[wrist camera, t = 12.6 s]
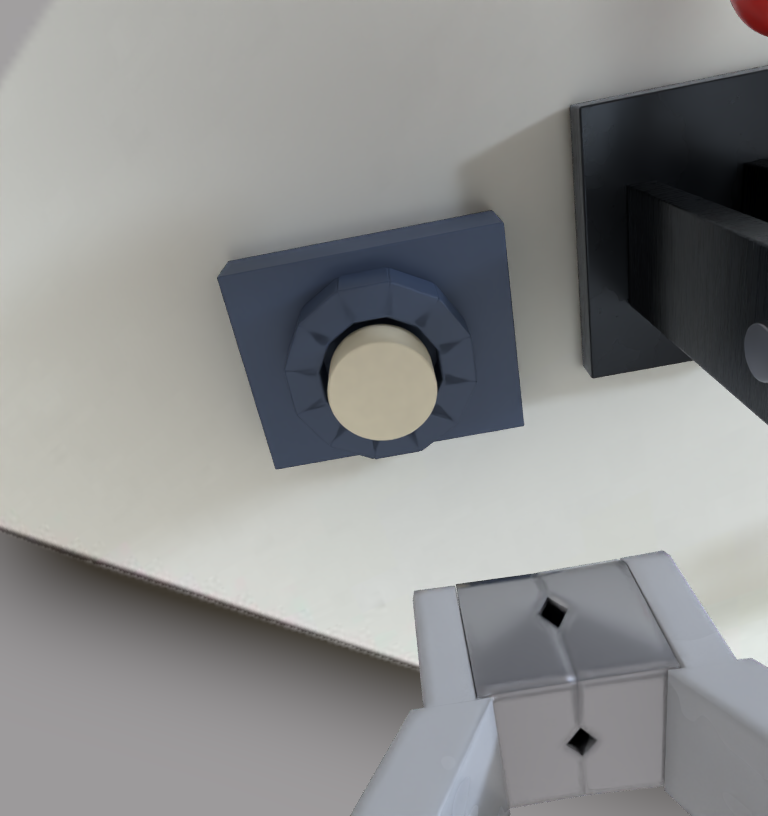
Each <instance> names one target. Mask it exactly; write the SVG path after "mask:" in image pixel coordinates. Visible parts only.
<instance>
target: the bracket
mask: <svg viewBox="0 0 768 816" xmlns="http://www.w3.org/2000/svg"><path fill="white" fill-rule="evenodd" d="M570 118H571V137H572V156H573V176H574V195H575V214H576V233H577V253H578V272H579V291H580V310H581V329H582V349H583V366H584V368H585V369H586V371H587V372H588V373H589V375H590V376H591V377H592V378H598V377H603V376H609V375H615V374H620V373H626V372H631V371H637V370H642V369H648V368H654V367H659V366H665V365H670V364H676V363H682V362H687V361H693V360H694V361H695V362H696V363H697V364H698V365H699V366H701V367H702V368H703V369H704V370H705V371H706V372H707V373H709V374H710V375H711V376H712V377H713V378H714V379H715V380H717V381H718V382H719V383H720V384H721V385H722V386H724V387H725V388H726V389H727V390H728V391H729V392H730V393H732V394H733V395H734V396H735V397H736V398H737V399H739V400H740V401H741V402H742V403H743V404H744V405H745V406H747V407H748V408H749V409H750V410H751V411H752V412H753V413H755V414H756V415H757V416H758V417H759V418H760V419H762V420H763V421H764V422H765V423H766V424H767V425H768V65H767V66H762V67H757V68H752V69H747V70H742V71H737V72H732V73H727V74H722V75H717V76H713V77H708V78H703V79H698V80H693V81H688V82H683V83H678V84H673V85H668V86H663V87H658V88H653V89H648V90H643V91H638V92H633V93H628V94H623V95H618V96H613V97H608V98H603V99H598V100H593V101H588V102H583V103H578V104H573V105H571V106H570Z"/></svg>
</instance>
